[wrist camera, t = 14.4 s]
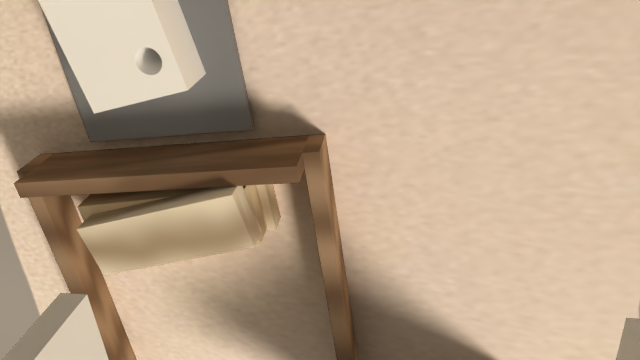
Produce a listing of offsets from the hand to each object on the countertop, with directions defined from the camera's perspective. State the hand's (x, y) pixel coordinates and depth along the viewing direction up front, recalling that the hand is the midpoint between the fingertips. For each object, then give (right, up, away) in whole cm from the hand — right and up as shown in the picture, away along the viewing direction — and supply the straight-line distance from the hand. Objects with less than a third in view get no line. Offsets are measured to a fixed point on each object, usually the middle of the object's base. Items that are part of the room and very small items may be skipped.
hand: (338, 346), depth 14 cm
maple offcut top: (-11, +1, +26) cm, 28 cm away
